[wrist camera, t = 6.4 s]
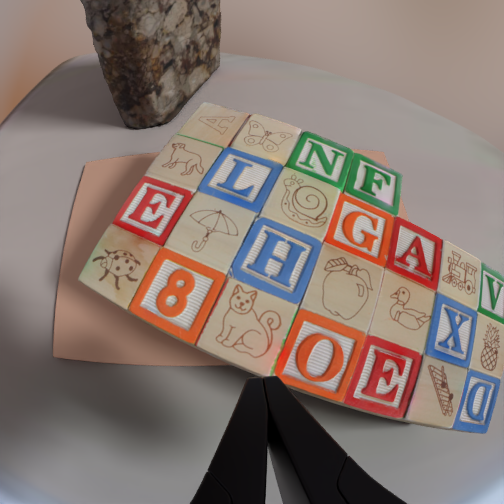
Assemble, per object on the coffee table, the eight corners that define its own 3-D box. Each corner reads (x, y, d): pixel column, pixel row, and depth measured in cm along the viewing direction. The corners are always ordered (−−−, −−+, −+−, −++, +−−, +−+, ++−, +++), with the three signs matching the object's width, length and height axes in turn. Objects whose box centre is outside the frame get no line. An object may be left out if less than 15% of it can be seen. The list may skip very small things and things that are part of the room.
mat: (431, 336, 17) (436, 334, 17) (57, 357, 15) (53, 356, 15) (380, 156, 24) (383, 152, 23) (88, 166, 22) (86, 162, 21)
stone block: (174, 61, 29) (160, -81, 11) (227, 66, 28) (229, -90, 10) (114, 129, 24) (58, -59, 5) (177, 138, 23) (144, -92, 5)
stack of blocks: (424, 429, 14) (459, 271, 19) (487, 437, 8) (511, 237, 13) (121, 309, 17) (210, 163, 21) (72, 276, 11) (204, 98, 16)
